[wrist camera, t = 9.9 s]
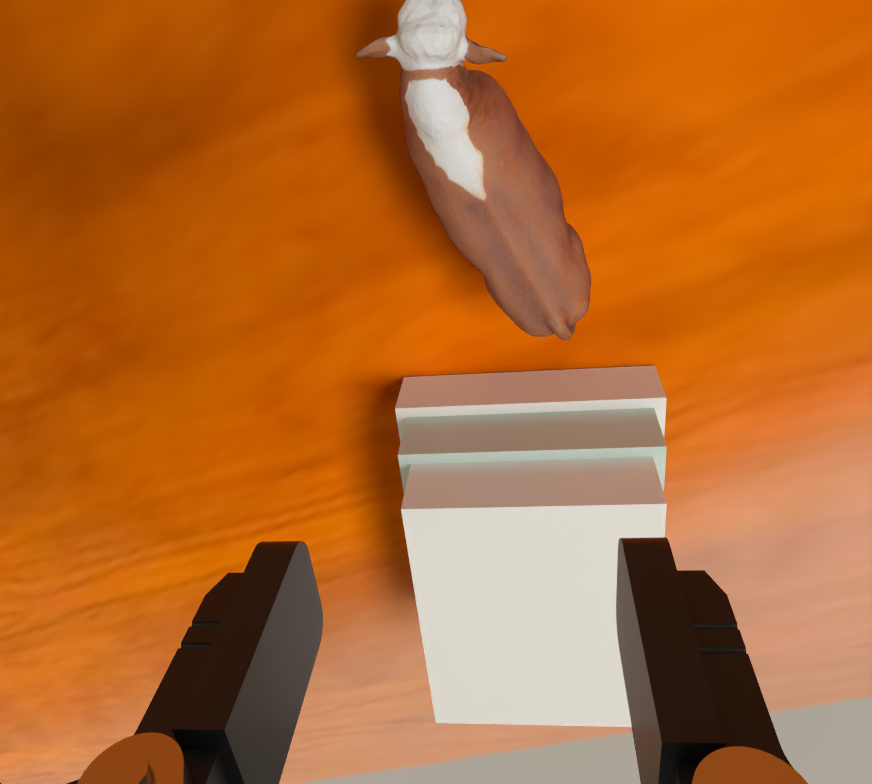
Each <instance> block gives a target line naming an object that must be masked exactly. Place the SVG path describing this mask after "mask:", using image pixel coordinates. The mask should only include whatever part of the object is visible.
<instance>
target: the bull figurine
mask: <svg viewBox="0 0 872 784" xmlns="http://www.w3.org/2000/svg"><path fill="white" fill-rule="evenodd" d="M466 22H467V19H466V14H465V11H464V7H463V5H462V3H461V0H406V1H405V3H404V4H403V6H402V8H401V9H400V11H399V13H398V32H397V34H396V35H392V36H386V37H381V38H379V39H376V40H375V41H373V42H372V43H370V44H369V45H367V46H366V47H364V48H363V49H361V50H360V51H358V52H357V53H356V54H355V56H356V57H357V58H358V59H362V58H366V57H369V58H383V57H388V56H390V57H394V58H396V59H397V60H398V61H399V62H400V64H401V73H400V100H401V107H402V112H403V116H404V133H405V140H406V145H407V149H408V153H409V155H410V158H411V160H412V162H413V164H414V166H415V168H416V170H417V172H418V173H419V175H420V177H421V179H422V181H423V183H424V186H425V189H426V192H427V195H428V198H429V200H430V202H431V204H432V206H433V208H434V210H435V212H436V214H437V215H438V217H439V219H440V221H441V222H442V224H443V227H444V229H445V231H446V233H447V235H448V236H449V238H450V239H451V241H452V242H453V244H454V245H455V246H456V247H457V248H458V250H459V251H460V252H461V253H462V254H463V255H464V257H465V258H466V259H467V260H468V261H469V262H470V263H471V264H473V265H474V266H475V267H476V268H477V269H478V270H479V271H480V272H481V273H482V274H483V275H484V278H485V284H486V287H487V290H488V291H489V293H490V295H491V296H492V298H493V299H494V301H495V302H496V303H497V304H498V305H499V307H500V308H501V309H502V310H503V311H504V312H505V313H506V314H507V315H508V316H509V317H510V318H511V320H512V321H513V322H514V323H515V324H516V325H517V326H518V327H519V328H520V329H522V330H523V331H525V332H526V333H528V334H529V335H532V336H538V337H540V336H545V337H546V336H549V335H552V334H553V333H555V334H556V336H558V337H559V338H560V339H562V340H568V339H570V338H571V337H572V335H573V333H574V330H575V323H576V322H577V321H578V320H580V319H581V318H582V317H583V316H584V315H585V314H586V312H587V310H588V308H589V302H590V287H591V275H590V270H589V268H588V265H587V262H586V259H585V254H584V249H583V245H582V242H581V239H580V237H579V235H578V233H577V232H576V231H575V229H574V228H573V227H572V226H571V225H570V224H568V223H567V222H566V219H565V216H564V212H563V201H562V196H561V191H560V187H559V184H558V181H557V179H556V176H555V174H554V172H553V171H552V169H551V167H550V166H549V165H548V163H547V162H546V161H545V159H544V158H543V157H542V155H541V154H540V153H539V152H538V150H537V149H536V147H535V145H534V143H533V141H532V139H531V137H530V135H529V134H528V132H527V130H526V129H525V127H524V126H523V124H522V123H521V121H520V119H519V118H518V115H517V113H516V111H515V109H514V107H513V105H512V103H511V101H510V99H509V98H508V96H507V95H506V93H505V91H504V89H503V88H502V87H501V86H500V85H499V83H498V82H497V81H496V80H495V79H494V78H493V77H491V76H490V75H488V74H486V73H484V72H482V71H477V70H467V69H466V68H465V66H464V64H463V62H462V60H465V61H469V62H471V63H474V64H484V63H490V62H504V61H506V59H507V57H506V55H505V54H502V53H500V52H498V51H495V50H493V49H490V48H488V47H484V46H480V45H478V44H477V43H475V42H473V41H471V40H469V39H468V38H467V37H466V35H465V34H466Z"/></svg>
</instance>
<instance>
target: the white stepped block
mask: <svg viewBox="0 0 872 784" xmlns="http://www.w3.org/2000/svg"><path fill="white" fill-rule="evenodd" d="M666 398H667V397H666V395H665V392H664V389H663V386H662V384H661V381H660V378H659V375H658V372H657V370H656V367H655V365H652V366H631V367H609V368H587V369H566V370H544V371H523V372H501V373H480V374H458V375H436V376H415V377H404V378H403V382H402V385H401V389H400V392H399V396H398V399H397V403H396V407H395V412H396V419H397V425H398V431H399V438H400V448H399V452H398V460H399V466H400V473H401V479H402V485H403V491H404V497H403V502H402V507H401V513H402V519H403V525H404V531H405V537H406V543H407V550H408V556H409V562H410V568H411V574H412V580H413V586H414V592H415V598H416V604H417V610H418V617H419V623H420V629H421V635H422V641H423V647H424V653H425V659H426V665H427V671H428V678H429V684H430V690H431V696H432V702H433V708H434V714H435V720H436V723H468V724H516V725H563V726H611V727H632V725H631V719H630V713H629V706H628V700H627V694H626V688H625V682H624V675H623V669H622V663H621V657H620V651H619V644H618V635H617V623H616V592H617V561H618V542H619V538H661V537H664V536H665V521H666V506H667V503H666V500H665V496H664V479H665V463H666V448H667V446H666V443H665V440H664V430H665V414H666Z"/></svg>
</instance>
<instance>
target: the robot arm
mask: <svg viewBox="0 0 872 784" xmlns="http://www.w3.org/2000/svg"><path fill="white" fill-rule="evenodd" d="M616 623H617V635H618V644H619V651H620V657H621V663H622V669H623V675H624V682H625V688H626V694H627V700H628V706H629V713H630V719H631V725H632V731H633V737H634V743H635V750H636V756H637V762H638V768H639V774H640V781H641V784H808V783H807V782H806V781H805V780H804V779H803V777H802V776H801V775H800V774H799V773H797V771H795V770H794V768H793V767H792V766H791V764H790V763H789V761H788V760H787V758H786V756H785V755H784V753H783V750H782V748H781V746H780V743H779V740H778V738H777V735H776V732H775V729H774V726H773V723H772V721H771V718H770V715H769V712H768V709H767V707H766V704H765V701H764V698H763V695H762V692H761V690H760V687H759V684H758V681H757V678H756V676H755V673H754V670H753V667H752V664H751V661H750V659H749V656H748V654H746V647H745V644H744V642H743V639H742V636H741V633H740V630H738V628H737V622H736V619H735V616H734V613H733V611H732V608H731V605H730V602H729V599H728V597H727V595H726V594H725V592H724V591H723V590H722V589H721V588H720V587H719V586H718V585H717V584H716V583H715V582H714V581H713V579H712V578H711V577H710V576H709V575H708V574H707V573H706V572H705V571H677V569H676V565H675V562H674V558H673V555H672V551H671V548H670V544H669V542H668V539H667V538H666V537H661V538H619V542H618V561H617V592H616ZM322 628H323V612H322V605H321V601H320V596H319V592H318V588H317V584H316V580H315V576H314V572H313V567H312V563H311V559H310V555H309V551H308V548H307V545H306V544H305V543H304V542H303V541H282V542H260V543H258V544H257V546H256V547H255V549H254V551H253V553H252V556H251V558H250V560H249V562H248V564H247V566H246V568H245V571H244V573H228V574H227V575H226V576H225V577H224V578H223V579H222V580H221V581H220V582H219V583H217V584H216V585H215V586H214V587H213V588H212V589H211V590H210V591H209V592H208V593H207V594H206V595H205V597H204V599H203V601H202V603H201V605H200V607H199V609H198V611H197V613H196V615H195V617H194V619H193V620H192V627H189V628H188V630H187V632H186V634H185V636H184V638H183V640H182V642H181V648H180V649H178V650H177V652H176V654H175V656H174V658H173V660H172V662H171V664H170V666H169V668H168V670H167V672H166V674H165V676H164V677H163V679H162V681H161V683H160V685H159V687H158V689H157V691H156V693H155V695H154V697H153V699H152V701H151V703H150V705H149V707H148V709H147V711H146V713H145V715H144V717H143V719H142V721H141V723H140V725H139V727H138V729H137V730H136V732H135V734H134V735H133V736H130V737H127V738H125V739H123V740H121V741H119V742H117V743H115V744H113V745H112V746H110V747H109V748H107V749H106V750H105V751H103V752H102V753H101V754H100V755H98V756H97V757H96V758H95V759H94V760H93V761H92V762H91V764H90V765H89V766H88V767H87V769H86V770H85V771H84V773H83V774H82V776H81V778H80V779H79V780H76V781H73V782H70V783H67V784H279V781H280V778H281V774H282V771H283V768H284V764H285V761H286V758H287V754H288V751H289V747H290V744H291V741H292V737H293V734H294V730H295V727H296V724H297V720H298V717H299V714H300V710H301V707H302V703H303V700H304V697H305V693H306V690H307V686H308V683H309V680H310V676H311V673H312V669H313V666H314V663H315V659H316V656H317V653H318V649H319V646H320V642H321V637H322ZM0 784H1V783H0Z"/></svg>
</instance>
